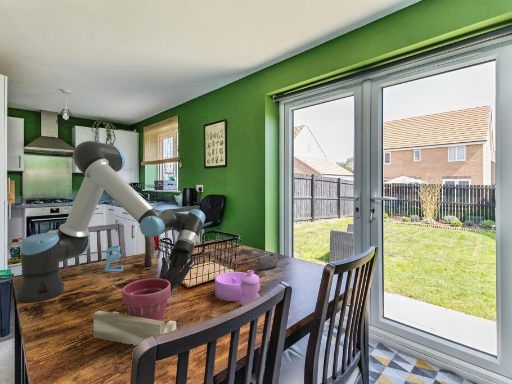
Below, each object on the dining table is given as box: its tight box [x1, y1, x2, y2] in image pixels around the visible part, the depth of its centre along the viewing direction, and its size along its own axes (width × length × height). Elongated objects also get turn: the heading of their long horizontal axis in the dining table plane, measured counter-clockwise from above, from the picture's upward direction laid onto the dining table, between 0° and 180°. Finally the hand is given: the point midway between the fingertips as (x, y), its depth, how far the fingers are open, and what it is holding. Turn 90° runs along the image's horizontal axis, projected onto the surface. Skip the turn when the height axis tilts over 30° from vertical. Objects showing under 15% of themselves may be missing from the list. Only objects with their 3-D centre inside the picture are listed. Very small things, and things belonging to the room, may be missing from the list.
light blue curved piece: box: [103, 245, 124, 273], centre depth 141 cm, size 8×8×12 cm
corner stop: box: [92, 310, 177, 347], centre depth 82 cm, size 8×22×7 cm, turn 75°
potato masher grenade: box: [138, 224, 152, 268], centre depth 148 cm, size 8×9×30 cm
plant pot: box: [121, 277, 172, 321], centre depth 88 cm, size 14×14×13 cm
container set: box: [214, 269, 261, 306], centre depth 110 cm, size 25×15×13 cm, turn 30°
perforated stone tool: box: [256, 252, 279, 271], centre depth 147 cm, size 15×5×7 cm, turn 132°
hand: (160, 304), depth 94 cm, fingers closed
